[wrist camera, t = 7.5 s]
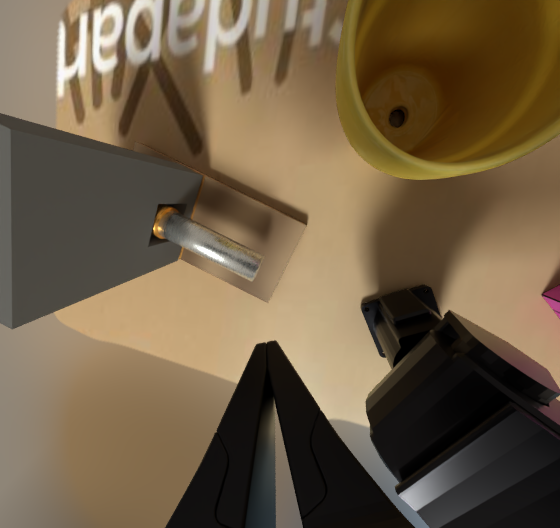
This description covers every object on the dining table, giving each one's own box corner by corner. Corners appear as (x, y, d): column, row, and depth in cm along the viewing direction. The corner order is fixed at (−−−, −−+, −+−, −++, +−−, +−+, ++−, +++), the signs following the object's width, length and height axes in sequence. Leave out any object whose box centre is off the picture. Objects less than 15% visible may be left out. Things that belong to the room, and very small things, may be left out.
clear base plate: (307, 224, 20) (306, 225, 19) (270, 299, 23) (267, 303, 22) (143, 144, 20) (134, 141, 19) (127, 227, 23) (118, 228, 22)
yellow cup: (485, 147, 16) (715, 73, 7) (355, 209, 19) (393, 216, 10) (444, 0, 14) (684, -378, 5) (307, 93, 17) (296, -37, 8)
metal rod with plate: (282, 226, 19) (261, 241, 12) (254, 287, 22) (221, 332, 14) (137, 154, 20) (26, 124, 12) (124, 221, 22) (24, 231, 14)
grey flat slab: (202, 175, 19) (10, 129, 7) (177, 260, 22) (12, 329, 10) (179, 164, 19) (-51, 98, 7) (157, 250, 22) (-31, 306, 10)
